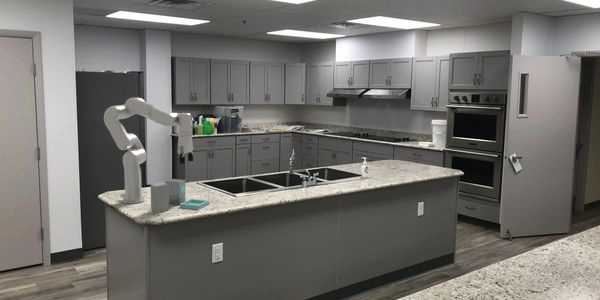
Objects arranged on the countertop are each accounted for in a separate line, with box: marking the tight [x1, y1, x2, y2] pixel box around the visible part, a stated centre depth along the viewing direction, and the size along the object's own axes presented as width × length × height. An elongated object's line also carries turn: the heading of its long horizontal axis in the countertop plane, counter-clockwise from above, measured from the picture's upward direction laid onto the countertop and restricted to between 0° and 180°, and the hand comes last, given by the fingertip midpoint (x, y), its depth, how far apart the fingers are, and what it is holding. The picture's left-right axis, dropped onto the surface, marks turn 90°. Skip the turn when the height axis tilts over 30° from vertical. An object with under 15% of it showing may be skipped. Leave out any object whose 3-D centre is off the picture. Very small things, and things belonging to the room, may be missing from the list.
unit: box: [165, 178, 186, 206], centre depth 296 cm, size 11×9×14 cm
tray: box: [179, 198, 210, 210], centre depth 291 cm, size 12×13×2 cm
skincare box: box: [150, 181, 170, 214], centre depth 277 cm, size 8×7×16 cm
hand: (186, 162), depth 290 cm, fingers open, 9 cm apart
